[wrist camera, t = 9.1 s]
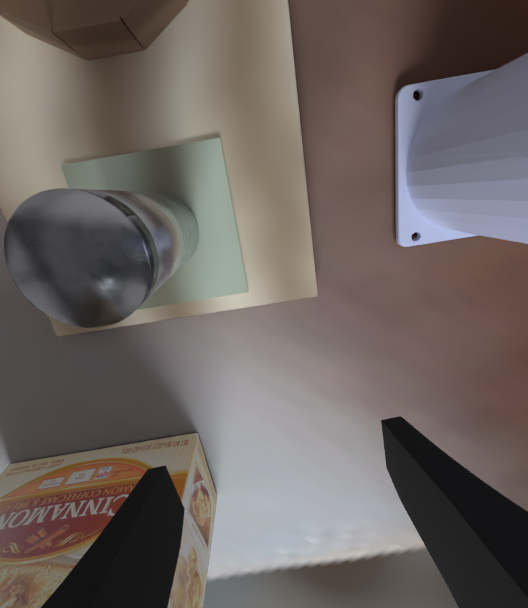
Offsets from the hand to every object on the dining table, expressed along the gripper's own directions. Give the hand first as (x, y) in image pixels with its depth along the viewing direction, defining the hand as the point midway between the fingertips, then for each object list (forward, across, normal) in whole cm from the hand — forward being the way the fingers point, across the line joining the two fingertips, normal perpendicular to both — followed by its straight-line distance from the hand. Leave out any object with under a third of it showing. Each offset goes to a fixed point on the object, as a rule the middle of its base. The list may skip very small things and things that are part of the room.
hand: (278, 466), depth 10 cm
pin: (+9, +4, -8) cm, 13 cm away
